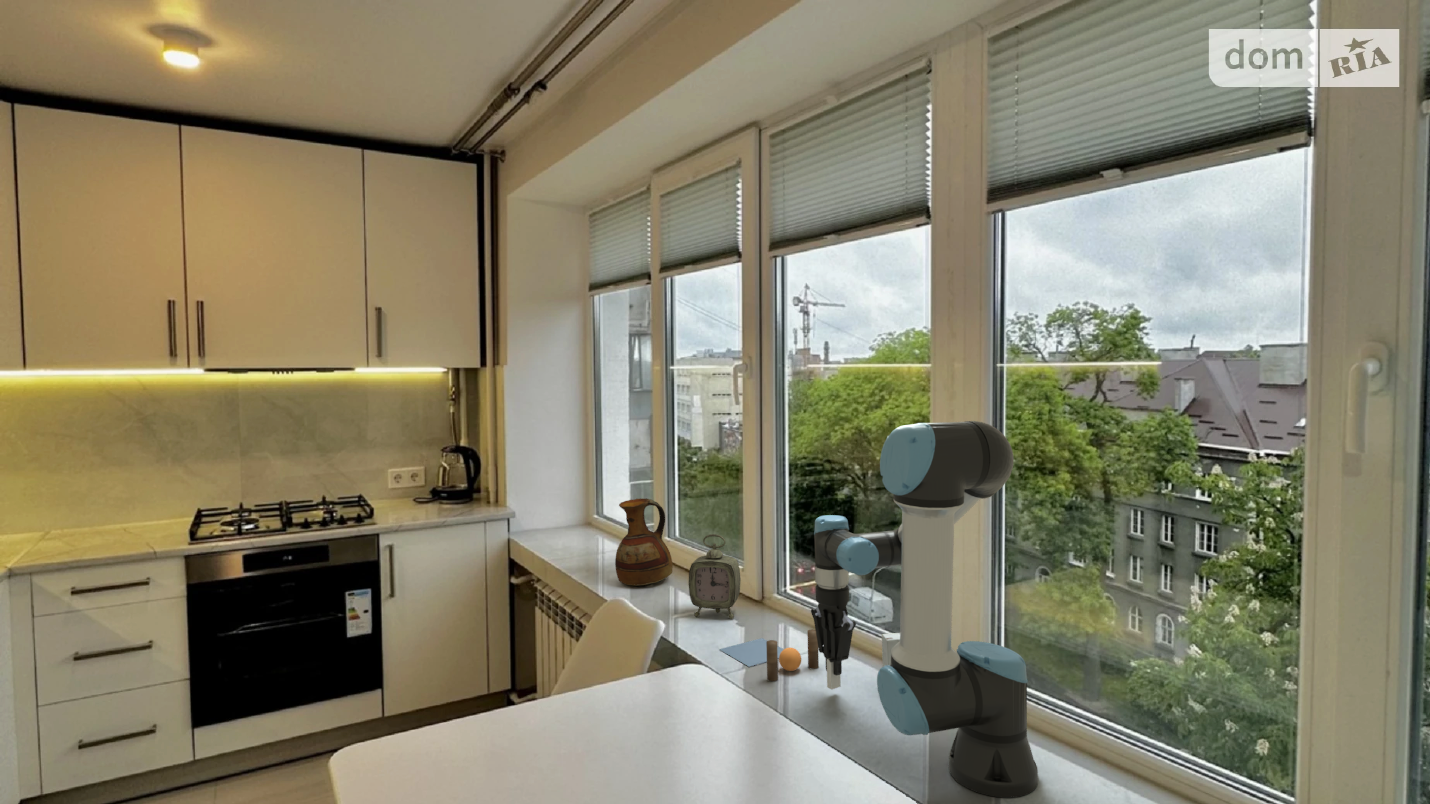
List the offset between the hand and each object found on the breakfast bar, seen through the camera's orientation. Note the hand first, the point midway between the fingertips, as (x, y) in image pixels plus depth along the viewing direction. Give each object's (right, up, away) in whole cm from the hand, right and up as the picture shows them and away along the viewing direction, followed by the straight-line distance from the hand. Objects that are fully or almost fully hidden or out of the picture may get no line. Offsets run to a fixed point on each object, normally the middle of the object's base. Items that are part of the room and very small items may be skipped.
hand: (833, 686), depth 167 cm
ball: (-9, +1, +14) cm, 17 cm away
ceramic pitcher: (-52, +1, +94) cm, 107 cm away
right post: (-3, -1, +16) cm, 16 cm away
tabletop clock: (-27, 0, +56) cm, 62 cm away
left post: (-13, -2, +10) cm, 16 cm away
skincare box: (+15, -2, +4) cm, 16 cm away
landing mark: (-16, -1, +26) cm, 31 cm away
